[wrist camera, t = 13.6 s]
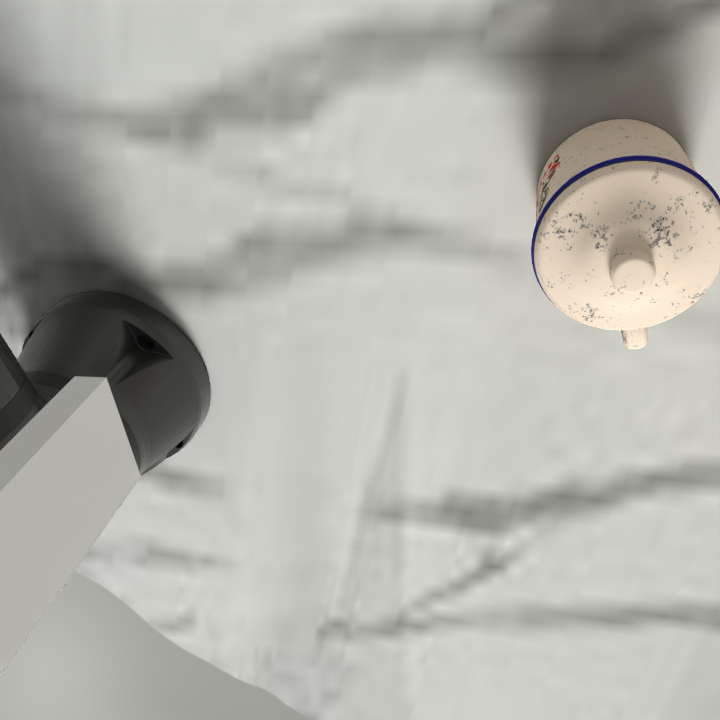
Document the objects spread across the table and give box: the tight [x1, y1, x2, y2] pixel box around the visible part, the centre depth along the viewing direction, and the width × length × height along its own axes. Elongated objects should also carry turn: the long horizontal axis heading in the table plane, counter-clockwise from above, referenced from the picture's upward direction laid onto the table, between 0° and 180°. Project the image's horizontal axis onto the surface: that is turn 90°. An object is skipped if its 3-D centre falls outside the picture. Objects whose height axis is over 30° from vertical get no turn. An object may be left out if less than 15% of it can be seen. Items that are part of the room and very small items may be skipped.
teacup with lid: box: [531, 119, 720, 349], centre depth 37 cm, size 12×9×12 cm
